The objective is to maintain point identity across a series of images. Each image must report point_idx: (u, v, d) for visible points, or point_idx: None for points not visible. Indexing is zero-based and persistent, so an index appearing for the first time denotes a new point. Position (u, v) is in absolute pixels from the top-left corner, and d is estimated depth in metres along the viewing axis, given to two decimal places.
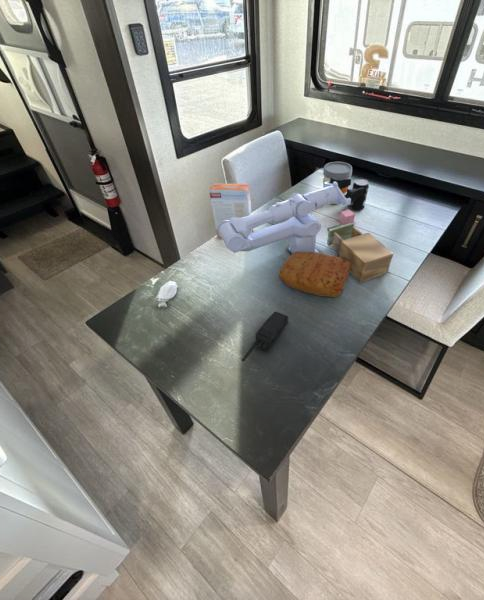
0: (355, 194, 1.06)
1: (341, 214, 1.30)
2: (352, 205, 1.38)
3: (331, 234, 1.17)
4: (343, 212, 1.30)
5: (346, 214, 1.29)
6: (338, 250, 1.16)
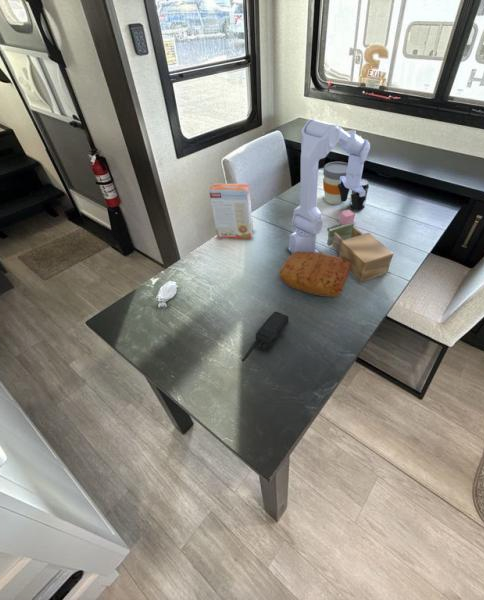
0: (356, 202, 1.22)
1: (341, 214, 1.30)
2: None
3: (331, 234, 1.17)
4: (343, 212, 1.30)
5: (346, 214, 1.29)
6: (338, 250, 1.16)
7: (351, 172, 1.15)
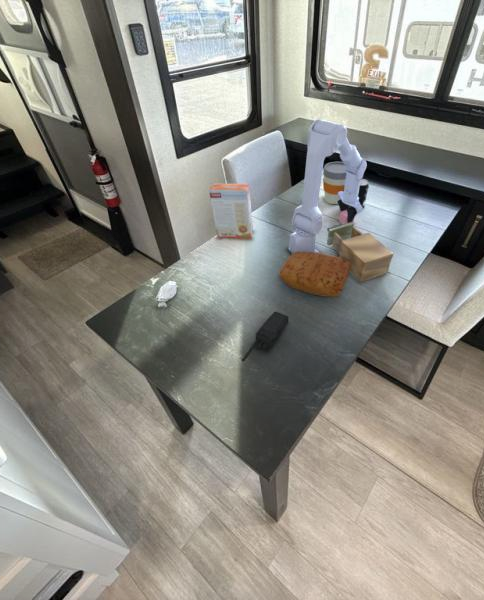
0: (351, 215, 1.28)
1: (341, 214, 1.30)
2: None
3: (331, 234, 1.17)
4: (343, 212, 1.30)
5: (346, 214, 1.29)
6: (338, 250, 1.16)
7: (348, 189, 1.20)
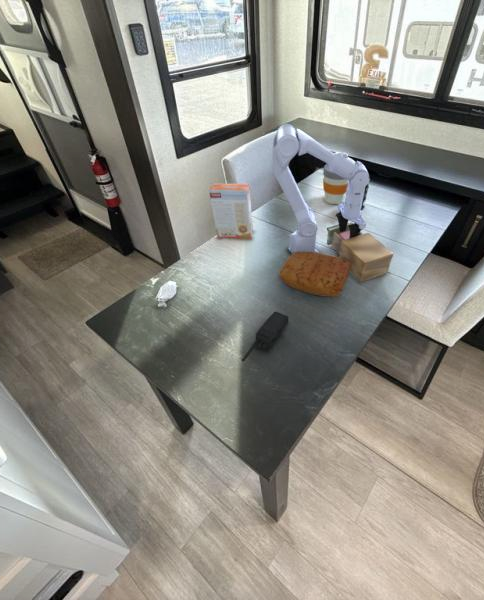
0: (354, 232, 1.10)
1: (340, 236, 1.16)
2: None
3: (331, 234, 1.17)
4: (342, 234, 1.16)
5: (345, 237, 1.14)
6: (338, 250, 1.16)
7: (345, 199, 1.04)
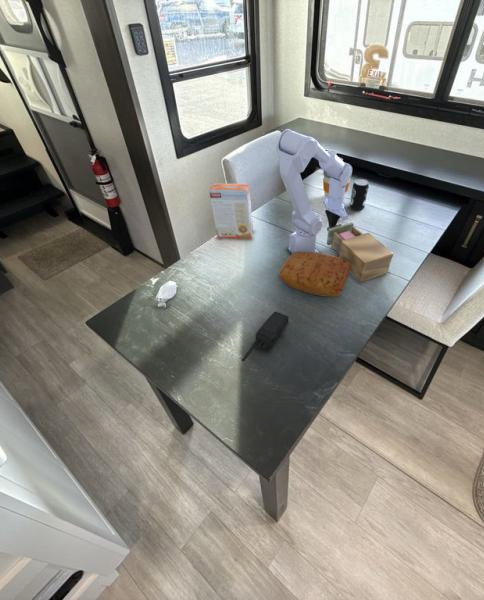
0: (334, 220, 1.21)
1: (340, 236, 1.16)
2: (352, 205, 1.38)
3: (331, 234, 1.17)
4: (342, 234, 1.16)
5: (345, 237, 1.14)
6: (338, 250, 1.16)
7: (332, 195, 1.11)
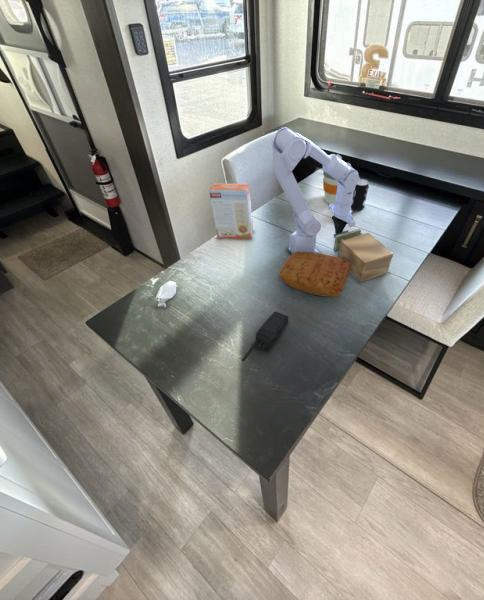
0: (340, 226, 1.17)
1: None
2: (352, 205, 1.38)
3: (338, 241, 1.14)
4: None
5: None
6: None
7: (337, 200, 1.09)
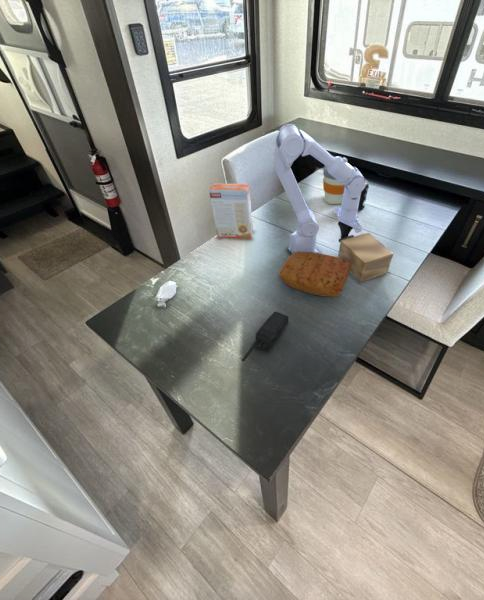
0: (346, 231, 1.15)
1: None
2: None
3: None
4: None
5: None
6: None
7: (342, 204, 1.07)
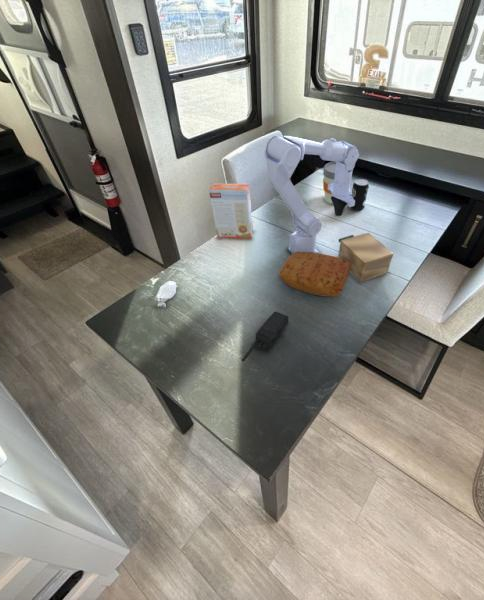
0: (340, 207, 1.15)
1: None
2: None
3: None
4: None
5: None
6: None
7: (337, 180, 1.06)
